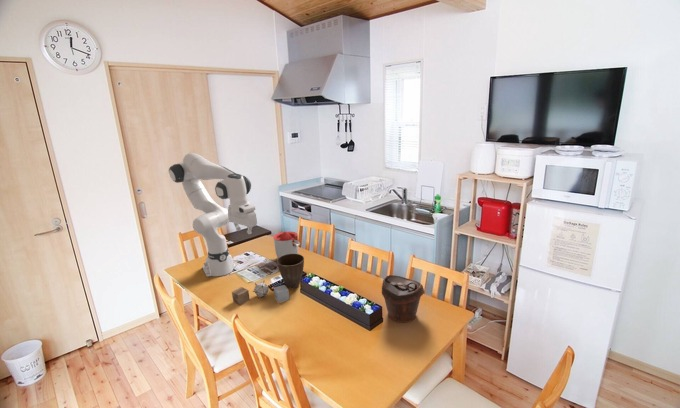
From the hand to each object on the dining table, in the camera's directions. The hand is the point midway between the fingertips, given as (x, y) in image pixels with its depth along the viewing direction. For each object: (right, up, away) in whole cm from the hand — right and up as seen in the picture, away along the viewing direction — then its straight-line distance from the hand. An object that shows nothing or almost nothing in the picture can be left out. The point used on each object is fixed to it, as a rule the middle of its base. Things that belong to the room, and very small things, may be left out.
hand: (244, 232), depth 170 cm
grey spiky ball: (+7, -35, +8) cm, 37 cm away
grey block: (+19, -35, +5) cm, 40 cm away
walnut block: (-3, -37, +5) cm, 37 cm away
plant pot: (+23, -32, +18) cm, 43 cm away
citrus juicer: (+16, -23, +49) cm, 56 cm away
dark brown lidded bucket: (+79, -38, -13) cm, 88 cm away
